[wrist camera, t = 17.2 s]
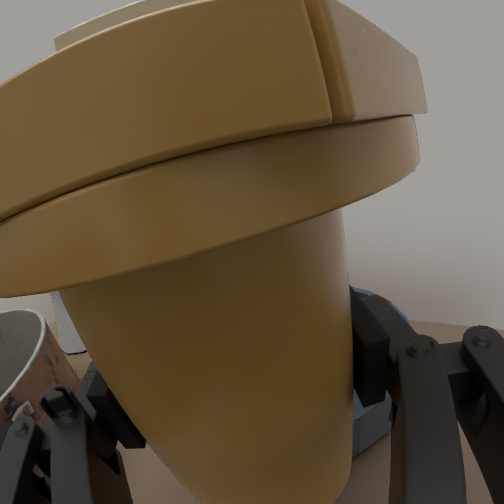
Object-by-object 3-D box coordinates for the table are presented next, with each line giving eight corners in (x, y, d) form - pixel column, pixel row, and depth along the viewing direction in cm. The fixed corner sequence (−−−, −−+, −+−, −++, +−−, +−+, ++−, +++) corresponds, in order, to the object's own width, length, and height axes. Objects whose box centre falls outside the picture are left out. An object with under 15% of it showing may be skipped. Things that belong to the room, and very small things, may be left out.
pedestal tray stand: (425, 523, 7) (535, 28, 2) (151, 569, 7) (-143, 231, 2) (349, 363, 17) (315, 94, 12) (169, 401, 17) (72, 158, 12)
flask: (53, 352, 37) (22, 292, 34) (80, 325, 44) (54, 269, 40) (85, 357, 35) (51, 291, 32) (112, 327, 42) (85, 265, 38)
